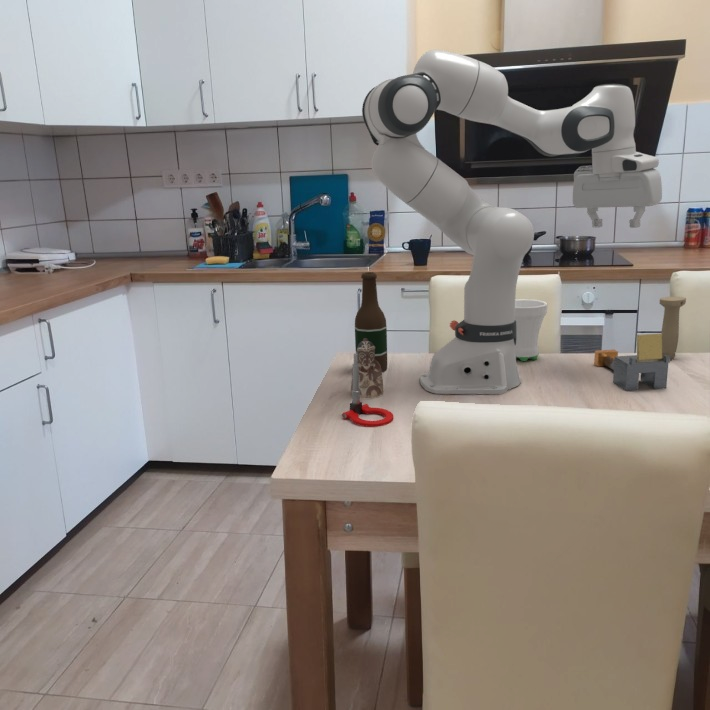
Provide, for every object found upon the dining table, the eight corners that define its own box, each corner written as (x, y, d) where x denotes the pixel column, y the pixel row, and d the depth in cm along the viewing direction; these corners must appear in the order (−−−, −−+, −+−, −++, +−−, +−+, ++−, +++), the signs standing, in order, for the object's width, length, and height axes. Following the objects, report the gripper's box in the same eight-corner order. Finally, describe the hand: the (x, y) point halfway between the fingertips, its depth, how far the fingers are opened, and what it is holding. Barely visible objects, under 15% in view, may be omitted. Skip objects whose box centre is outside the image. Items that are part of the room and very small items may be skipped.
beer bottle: (385, 374, 161) (383, 275, 155) (353, 374, 162) (350, 275, 156) (389, 365, 168) (387, 270, 162) (358, 365, 170) (355, 270, 164)
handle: (684, 358, 165) (690, 298, 161) (668, 362, 162) (673, 301, 158) (667, 354, 169) (672, 295, 166) (650, 358, 166) (655, 298, 162)
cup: (501, 363, 167) (502, 307, 163) (498, 352, 177) (499, 299, 174) (548, 363, 165) (550, 307, 161) (542, 352, 176) (544, 298, 172)
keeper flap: (636, 335, 140) (634, 335, 141) (636, 363, 141) (634, 362, 141) (664, 333, 141) (662, 333, 141) (664, 361, 141) (662, 361, 142)
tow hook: (402, 420, 132) (366, 408, 138) (403, 357, 129) (366, 348, 135) (374, 432, 126) (338, 420, 132) (374, 367, 123) (337, 357, 129)
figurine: (348, 398, 145) (346, 344, 142) (353, 388, 152) (351, 336, 149) (381, 398, 144) (380, 344, 141) (384, 388, 151) (383, 336, 148)
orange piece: (616, 378, 151) (617, 363, 151) (594, 364, 163) (594, 350, 162) (637, 377, 152) (638, 362, 151) (613, 363, 163) (614, 349, 162)
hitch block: (628, 392, 142) (630, 358, 140) (612, 382, 149) (615, 350, 147) (669, 389, 143) (672, 356, 141) (652, 380, 150) (654, 348, 148)
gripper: (565, 168, 152) (568, 229, 156) (648, 161, 136) (649, 230, 140) (582, 164, 156) (585, 224, 159) (666, 157, 139) (666, 224, 143)
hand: (615, 227), depth 149 cm, fingers open, 8 cm apart
